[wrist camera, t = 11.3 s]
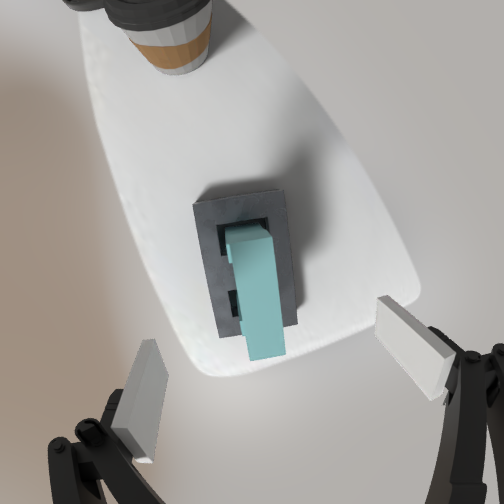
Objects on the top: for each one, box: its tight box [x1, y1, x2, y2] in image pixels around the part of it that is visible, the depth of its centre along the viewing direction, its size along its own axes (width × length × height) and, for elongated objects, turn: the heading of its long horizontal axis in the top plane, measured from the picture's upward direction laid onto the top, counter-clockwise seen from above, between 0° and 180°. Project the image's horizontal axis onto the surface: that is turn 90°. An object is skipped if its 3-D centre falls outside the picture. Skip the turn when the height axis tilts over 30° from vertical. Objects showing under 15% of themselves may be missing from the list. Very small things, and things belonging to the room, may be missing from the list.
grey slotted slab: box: [192, 189, 298, 338], centre depth 30 cm, size 15×9×2 cm, turn 8°
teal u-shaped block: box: [225, 222, 286, 361], centre depth 26 cm, size 10×4×11 cm, turn 8°
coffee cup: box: [103, 0, 212, 75], centre depth 17 cm, size 8×8×15 cm
